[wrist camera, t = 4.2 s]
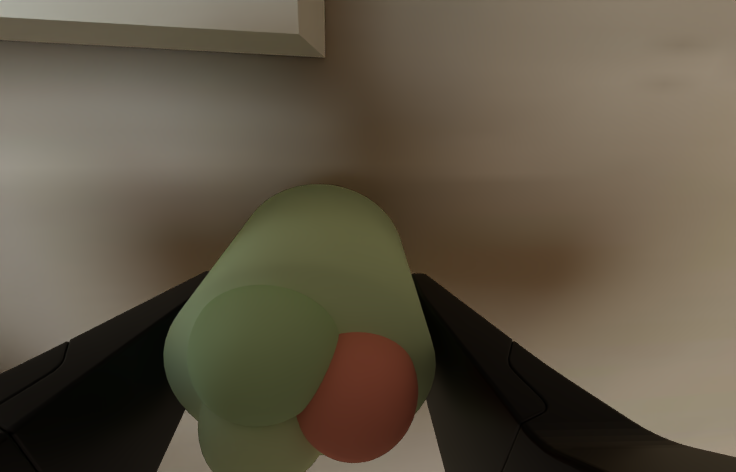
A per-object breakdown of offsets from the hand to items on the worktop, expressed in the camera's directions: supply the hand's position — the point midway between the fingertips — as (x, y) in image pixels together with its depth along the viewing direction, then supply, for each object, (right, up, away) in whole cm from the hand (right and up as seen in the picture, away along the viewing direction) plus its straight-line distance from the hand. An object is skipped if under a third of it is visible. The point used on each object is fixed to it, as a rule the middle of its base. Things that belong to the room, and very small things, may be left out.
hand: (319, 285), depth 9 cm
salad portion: (0, +1, +1) cm, 1 cm away
